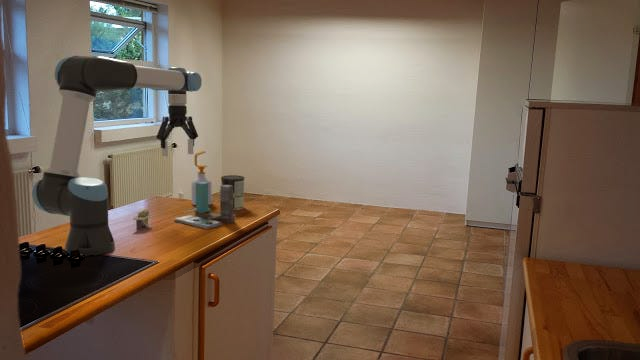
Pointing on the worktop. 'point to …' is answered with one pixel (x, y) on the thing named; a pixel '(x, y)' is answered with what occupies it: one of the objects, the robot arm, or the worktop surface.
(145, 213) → the potted plant
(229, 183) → the coffee can
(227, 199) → the grey l-shaped piece
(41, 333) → the worktop surface
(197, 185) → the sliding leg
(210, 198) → the soap bottle
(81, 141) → the robot arm
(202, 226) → the plate
